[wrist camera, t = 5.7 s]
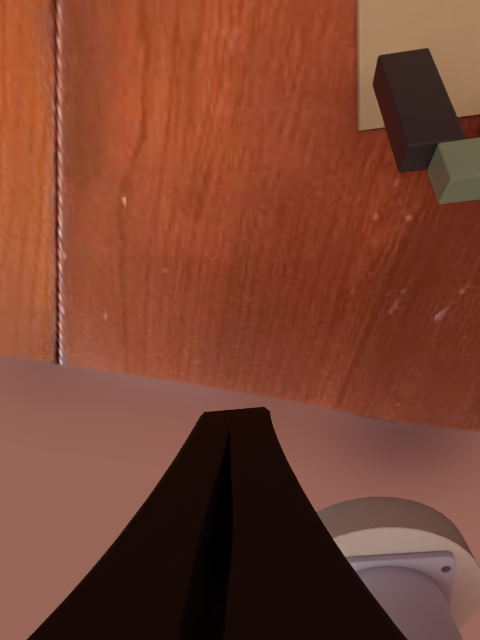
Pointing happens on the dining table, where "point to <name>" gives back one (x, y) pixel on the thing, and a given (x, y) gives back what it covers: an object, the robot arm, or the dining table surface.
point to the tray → (426, 125)
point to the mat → (417, 33)
